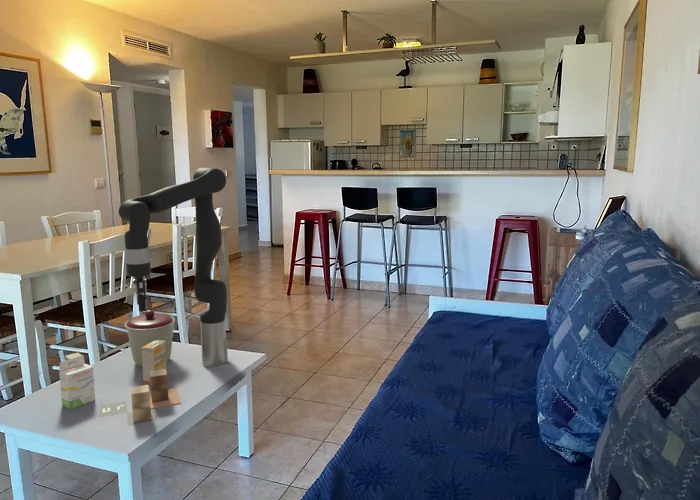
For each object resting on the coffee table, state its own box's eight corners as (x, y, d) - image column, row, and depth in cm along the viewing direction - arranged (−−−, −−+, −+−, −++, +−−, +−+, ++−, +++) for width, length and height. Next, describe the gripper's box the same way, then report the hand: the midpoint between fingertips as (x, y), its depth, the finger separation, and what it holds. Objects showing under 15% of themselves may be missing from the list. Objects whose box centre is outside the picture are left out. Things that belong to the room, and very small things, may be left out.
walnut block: (167, 393, 169) (165, 368, 167) (168, 400, 165) (167, 374, 163) (151, 396, 167) (149, 371, 165) (152, 403, 163) (150, 376, 161)
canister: (164, 372, 187) (160, 318, 183) (117, 370, 188) (113, 316, 184) (184, 354, 204) (182, 304, 200) (142, 352, 206) (138, 302, 202)
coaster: (176, 388, 174) (176, 387, 174) (181, 403, 163) (181, 402, 163) (139, 395, 169) (139, 393, 169) (141, 411, 158) (141, 409, 158)
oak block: (150, 411, 158) (148, 384, 156) (151, 418, 153) (149, 391, 152) (132, 414, 156) (130, 387, 154) (133, 422, 151) (131, 394, 150)
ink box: (70, 410, 158) (66, 366, 156) (61, 406, 161) (57, 362, 158) (96, 399, 165) (92, 357, 163) (87, 395, 168) (84, 354, 165)
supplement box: (155, 383, 178) (153, 348, 175) (143, 382, 178) (140, 347, 176) (168, 374, 185) (166, 340, 183) (156, 372, 186) (154, 339, 184)
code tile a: (126, 401, 164) (126, 400, 164) (127, 412, 157) (127, 411, 157) (99, 405, 161) (99, 405, 161) (98, 417, 154) (98, 417, 154)
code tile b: (154, 408, 160) (154, 408, 160) (156, 420, 153) (156, 420, 153) (127, 413, 156) (127, 413, 156) (128, 425, 149) (128, 425, 149)
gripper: (152, 264, 162) (155, 312, 165) (148, 256, 175) (151, 300, 178) (126, 266, 159) (130, 315, 162) (124, 258, 172) (128, 303, 175)
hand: (141, 307), depth 170 cm, fingers open, 8 cm apart
